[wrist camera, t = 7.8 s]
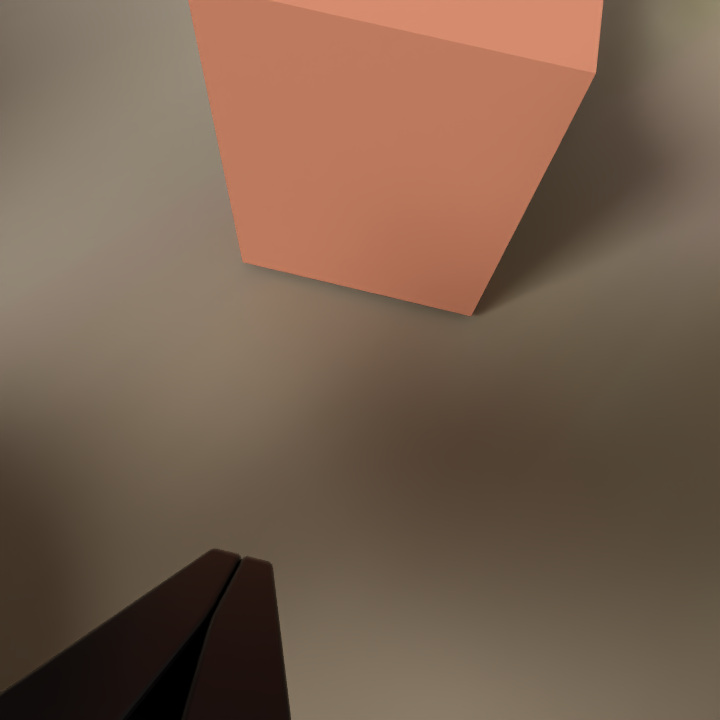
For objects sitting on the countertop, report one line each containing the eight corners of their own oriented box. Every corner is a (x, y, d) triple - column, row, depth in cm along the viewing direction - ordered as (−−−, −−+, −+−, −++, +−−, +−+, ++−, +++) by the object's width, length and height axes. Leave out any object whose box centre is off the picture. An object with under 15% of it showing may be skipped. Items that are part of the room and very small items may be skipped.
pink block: (471, 316, 18) (595, 73, 10) (242, 262, 18) (184, -19, 10) (515, 68, 22) (628, -244, 14) (329, 26, 22) (336, -305, 14)
